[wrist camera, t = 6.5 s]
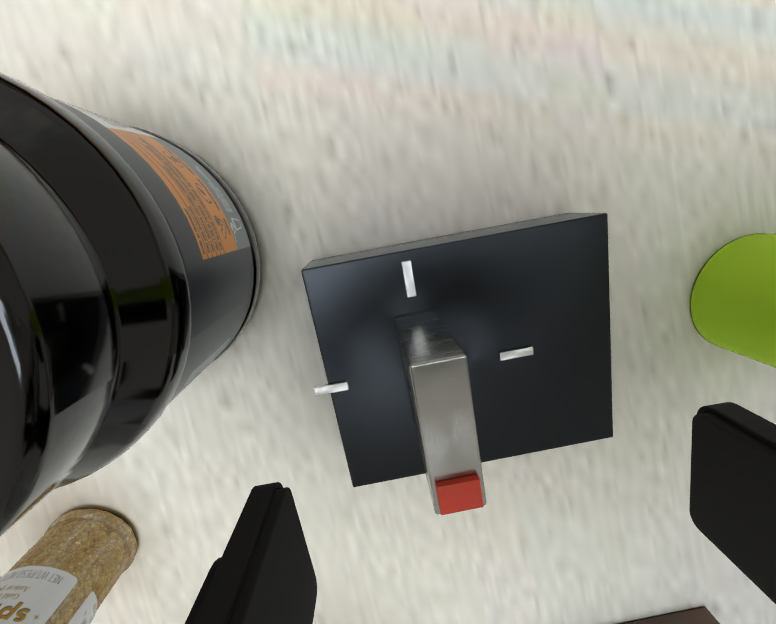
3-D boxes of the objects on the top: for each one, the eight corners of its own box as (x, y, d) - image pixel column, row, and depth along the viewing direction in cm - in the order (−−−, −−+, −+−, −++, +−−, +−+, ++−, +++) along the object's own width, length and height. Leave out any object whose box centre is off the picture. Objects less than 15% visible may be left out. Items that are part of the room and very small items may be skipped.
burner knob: (394, 316, 15) (409, 369, 10) (433, 309, 15) (469, 358, 10) (414, 426, 16) (436, 522, 11) (450, 419, 16) (489, 511, 11)
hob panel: (567, 212, 17) (610, 212, 14) (577, 404, 20) (615, 439, 17) (298, 262, 17) (284, 273, 14) (343, 450, 20) (339, 493, 17)
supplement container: (152, 74, 15) (-555, -389, 3) (315, 286, 18) (219, 426, 6) (-37, 229, 16) (-1073, 269, 4) (143, 409, 19) (-222, 731, 7)
